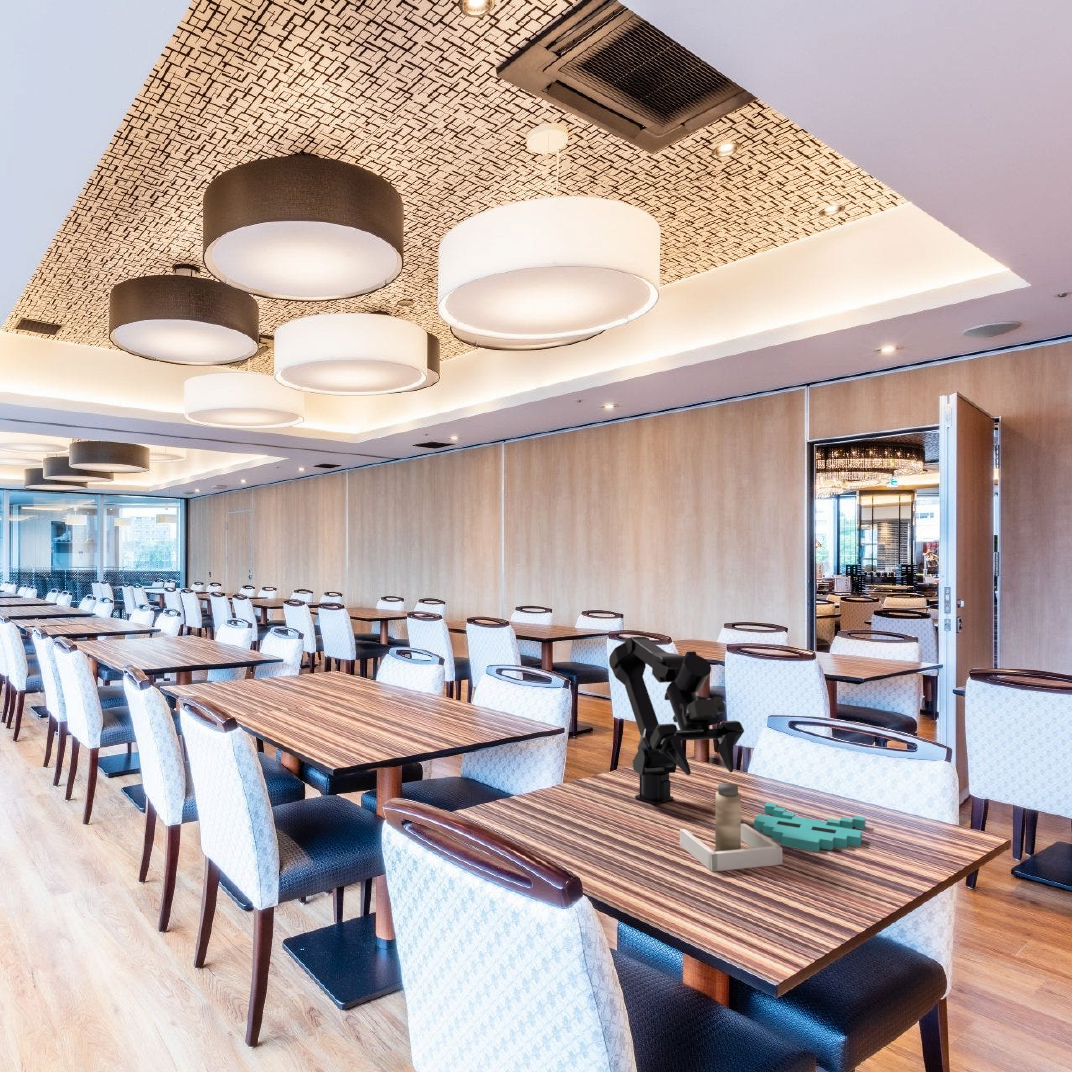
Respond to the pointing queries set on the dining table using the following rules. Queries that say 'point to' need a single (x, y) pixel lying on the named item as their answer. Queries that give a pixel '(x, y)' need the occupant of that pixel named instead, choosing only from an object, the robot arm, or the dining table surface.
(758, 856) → the u-shaped frame
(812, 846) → the alien figure
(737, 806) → the pepper mill
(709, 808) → the dining table surface
